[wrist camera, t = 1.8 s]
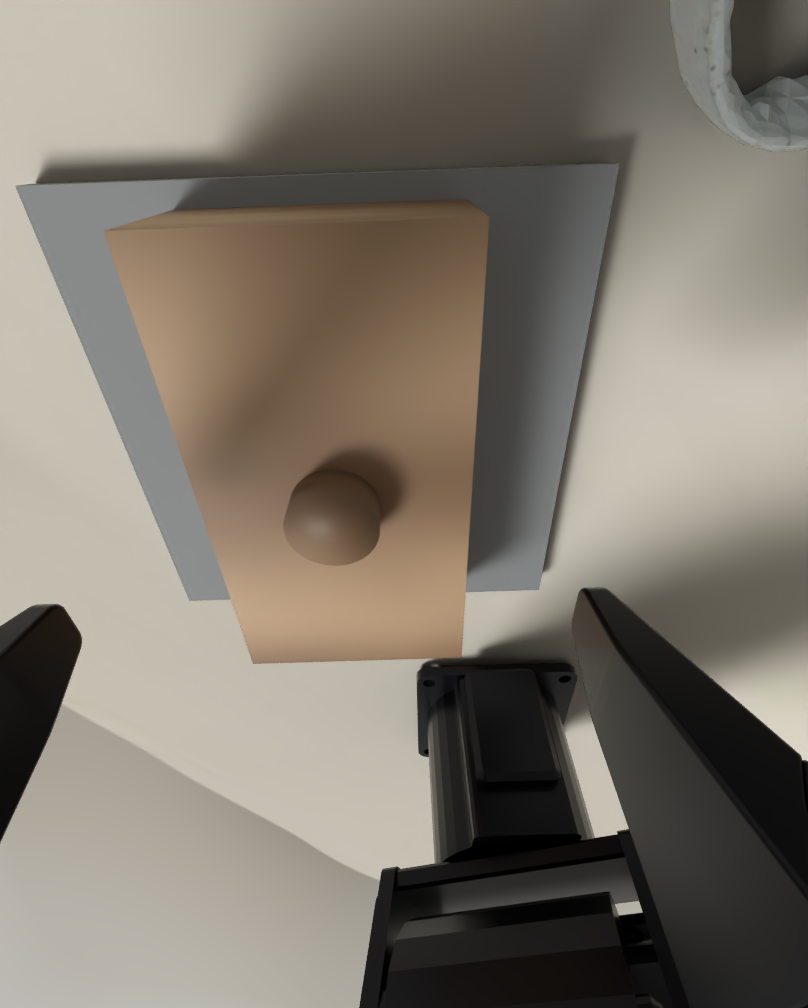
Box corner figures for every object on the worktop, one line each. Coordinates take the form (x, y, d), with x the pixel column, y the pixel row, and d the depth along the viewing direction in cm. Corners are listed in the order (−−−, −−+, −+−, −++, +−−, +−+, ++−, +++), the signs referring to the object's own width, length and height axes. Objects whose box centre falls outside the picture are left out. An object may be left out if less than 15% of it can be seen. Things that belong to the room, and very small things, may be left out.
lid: (451, 582, 17) (464, 682, 13) (273, 587, 17) (246, 688, 14) (466, 198, 10) (497, 224, 7) (173, 209, 10) (75, 239, 7)
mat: (534, 577, 17) (538, 589, 17) (195, 587, 17) (189, 600, 17) (609, 162, 10) (619, 163, 10) (33, 184, 10) (14, 185, 10)
